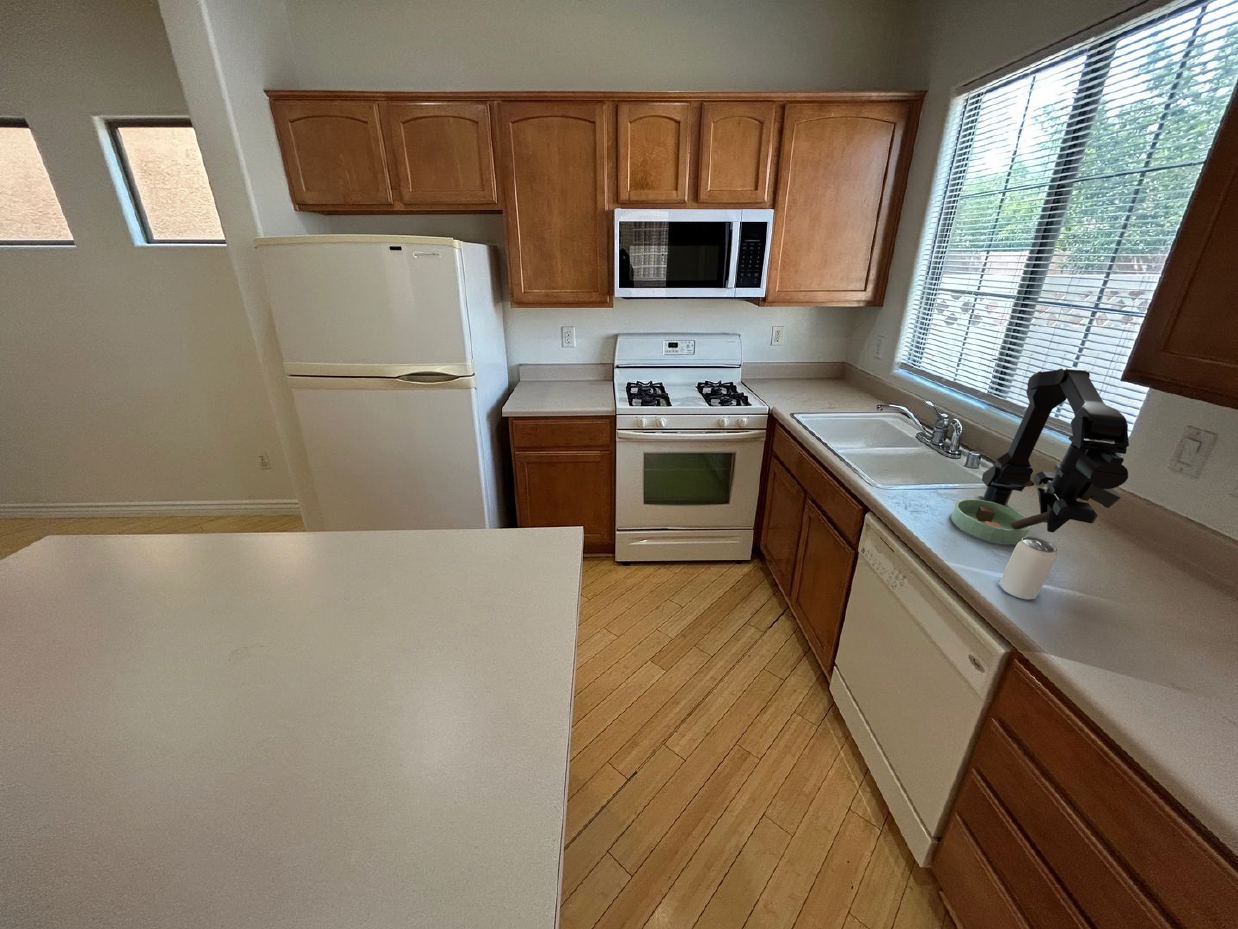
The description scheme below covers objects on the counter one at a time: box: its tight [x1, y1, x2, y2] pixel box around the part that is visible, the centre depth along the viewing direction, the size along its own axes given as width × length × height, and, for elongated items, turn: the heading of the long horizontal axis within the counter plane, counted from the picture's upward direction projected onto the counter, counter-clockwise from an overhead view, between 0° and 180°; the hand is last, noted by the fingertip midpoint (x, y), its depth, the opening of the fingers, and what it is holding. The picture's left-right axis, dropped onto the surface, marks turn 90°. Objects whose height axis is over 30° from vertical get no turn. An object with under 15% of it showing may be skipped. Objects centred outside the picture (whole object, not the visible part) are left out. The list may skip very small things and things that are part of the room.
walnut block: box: [976, 506, 995, 522], centre depth 128 cm, size 3×3×3 cm
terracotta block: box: [984, 521, 1000, 528], centre depth 121 cm, size 3×3×3 cm
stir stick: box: [1011, 512, 1047, 530], centre depth 112 cm, size 2×2×12 cm
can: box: [999, 536, 1058, 601], centre depth 100 cm, size 6×6×12 cm
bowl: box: [950, 498, 1033, 545], centre depth 124 cm, size 16×16×4 cm
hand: (1047, 526), depth 110 cm, fingers closed on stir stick, 4 cm apart
